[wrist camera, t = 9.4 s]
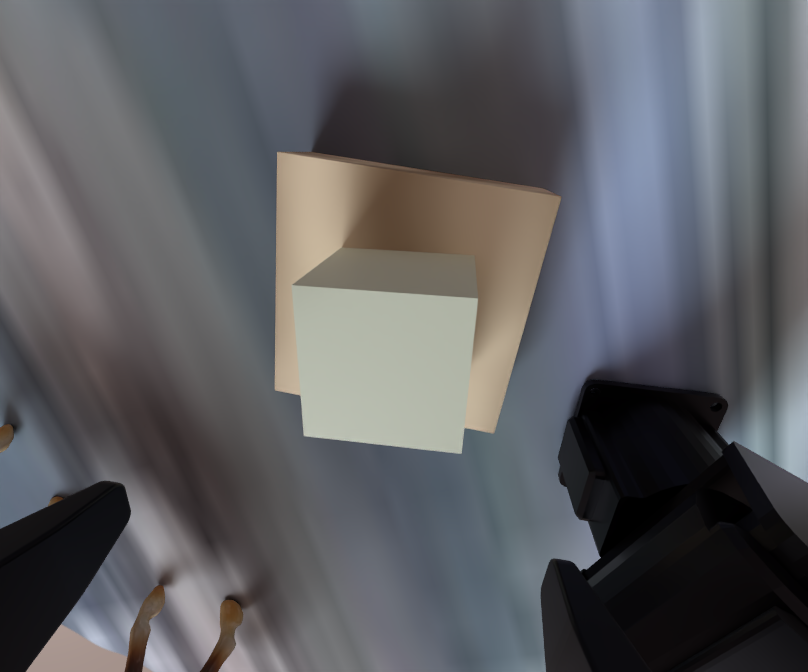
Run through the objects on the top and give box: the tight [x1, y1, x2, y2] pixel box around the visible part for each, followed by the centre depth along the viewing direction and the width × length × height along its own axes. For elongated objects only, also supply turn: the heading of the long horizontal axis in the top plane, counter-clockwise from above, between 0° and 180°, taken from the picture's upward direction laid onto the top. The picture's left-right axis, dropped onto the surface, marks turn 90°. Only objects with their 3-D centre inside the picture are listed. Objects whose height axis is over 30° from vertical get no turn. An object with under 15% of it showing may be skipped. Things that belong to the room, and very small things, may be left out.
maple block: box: [275, 152, 561, 433], centre depth 18 cm, size 10×10×4 cm
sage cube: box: [291, 247, 478, 454], centre depth 14 cm, size 5×5×5 cm
